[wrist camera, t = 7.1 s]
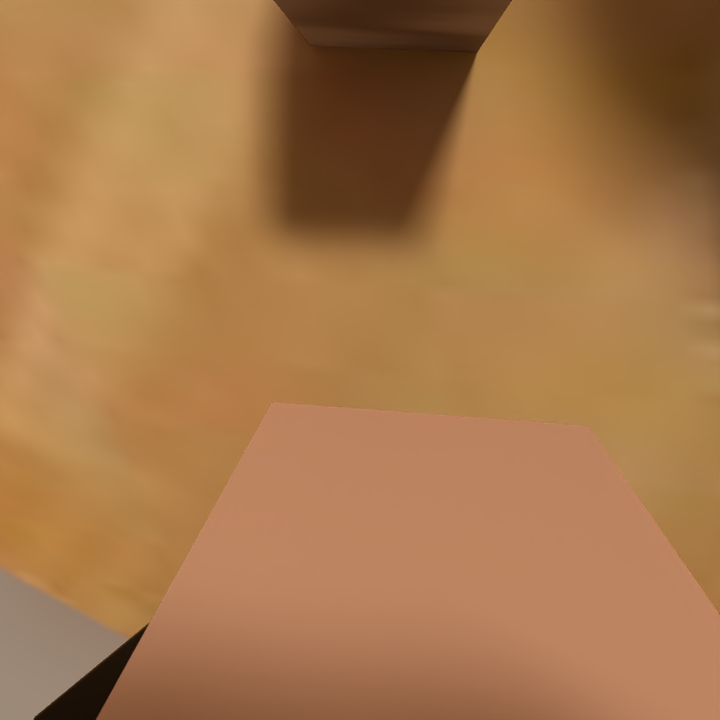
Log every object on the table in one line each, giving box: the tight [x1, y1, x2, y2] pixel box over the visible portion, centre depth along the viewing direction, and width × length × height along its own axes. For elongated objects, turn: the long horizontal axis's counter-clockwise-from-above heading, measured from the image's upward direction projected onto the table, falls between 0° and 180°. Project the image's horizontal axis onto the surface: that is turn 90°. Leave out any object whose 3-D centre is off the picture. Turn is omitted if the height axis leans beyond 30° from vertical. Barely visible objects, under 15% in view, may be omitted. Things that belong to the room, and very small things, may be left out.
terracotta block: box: [96, 402, 720, 720], centre depth 7 cm, size 5×5×6 cm
